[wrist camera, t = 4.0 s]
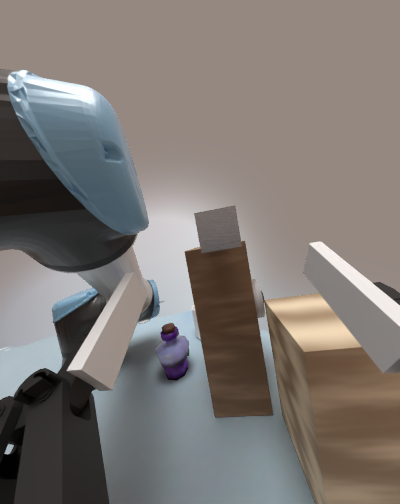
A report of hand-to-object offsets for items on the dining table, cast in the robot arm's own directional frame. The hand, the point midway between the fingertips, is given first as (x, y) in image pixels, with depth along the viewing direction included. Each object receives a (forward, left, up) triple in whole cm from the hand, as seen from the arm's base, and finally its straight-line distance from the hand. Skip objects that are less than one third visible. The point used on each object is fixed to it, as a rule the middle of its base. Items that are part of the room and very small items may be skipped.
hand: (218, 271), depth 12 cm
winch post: (-21, +1, -28) cm, 35 cm away
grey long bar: (-14, 0, +2) cm, 14 cm away
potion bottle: (-25, -15, -29) cm, 41 cm away
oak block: (-8, +11, -28) cm, 31 cm away
